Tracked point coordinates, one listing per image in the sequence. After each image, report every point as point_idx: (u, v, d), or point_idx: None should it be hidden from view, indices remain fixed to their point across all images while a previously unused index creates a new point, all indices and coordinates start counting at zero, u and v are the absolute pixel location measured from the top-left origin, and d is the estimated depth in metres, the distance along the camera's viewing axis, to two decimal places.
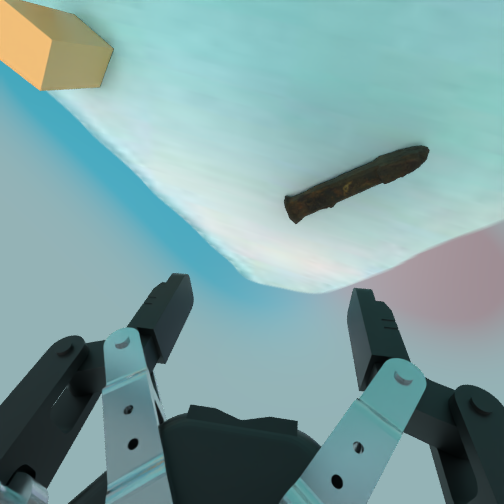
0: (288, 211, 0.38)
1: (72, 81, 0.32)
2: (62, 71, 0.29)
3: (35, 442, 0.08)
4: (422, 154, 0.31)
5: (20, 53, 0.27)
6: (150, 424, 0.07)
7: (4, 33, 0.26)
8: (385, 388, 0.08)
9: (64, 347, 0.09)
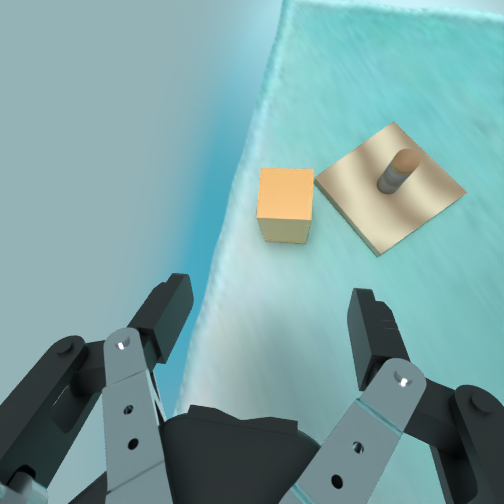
0: None
1: (269, 230, 0.31)
2: (279, 225, 0.29)
3: (35, 442, 0.08)
4: None
5: (279, 194, 0.27)
6: (150, 424, 0.07)
7: (286, 178, 0.27)
8: (385, 388, 0.08)
9: (64, 347, 0.09)
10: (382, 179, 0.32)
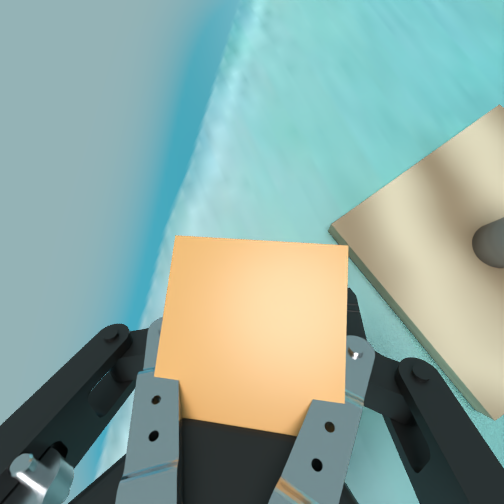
0: None
1: None
2: None
3: (71, 422, 0.08)
4: None
5: (228, 332, 0.08)
6: (172, 420, 0.07)
7: (254, 276, 0.08)
8: None
9: (110, 334, 0.10)
10: (500, 240, 0.13)
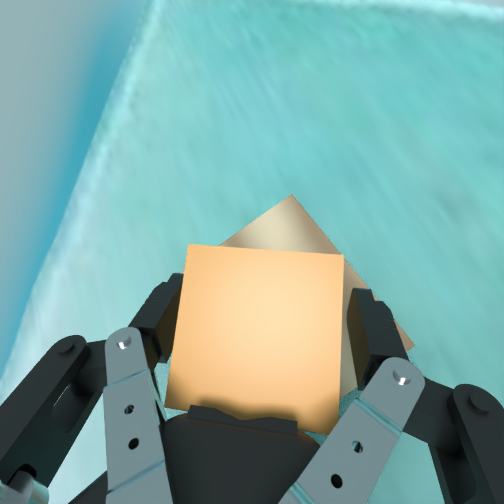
0: None
1: None
2: None
3: (36, 441, 0.08)
4: None
5: (236, 331, 0.09)
6: (151, 424, 0.07)
7: (259, 281, 0.09)
8: (384, 387, 0.08)
9: (65, 347, 0.09)
10: None
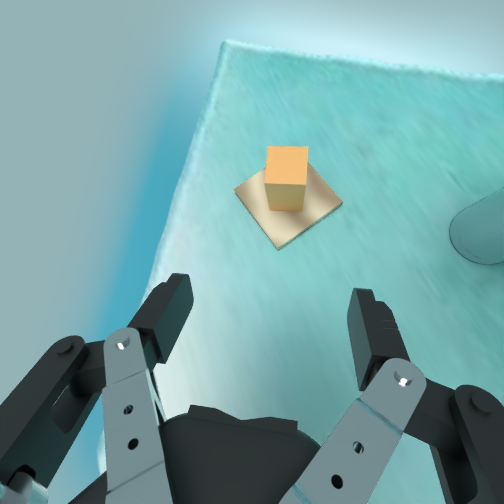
0: None
1: (273, 197, 0.39)
2: (281, 191, 0.37)
3: (35, 442, 0.08)
4: None
5: (281, 165, 0.35)
6: (150, 424, 0.07)
7: (287, 154, 0.36)
8: (385, 388, 0.08)
9: (64, 347, 0.09)
10: None
